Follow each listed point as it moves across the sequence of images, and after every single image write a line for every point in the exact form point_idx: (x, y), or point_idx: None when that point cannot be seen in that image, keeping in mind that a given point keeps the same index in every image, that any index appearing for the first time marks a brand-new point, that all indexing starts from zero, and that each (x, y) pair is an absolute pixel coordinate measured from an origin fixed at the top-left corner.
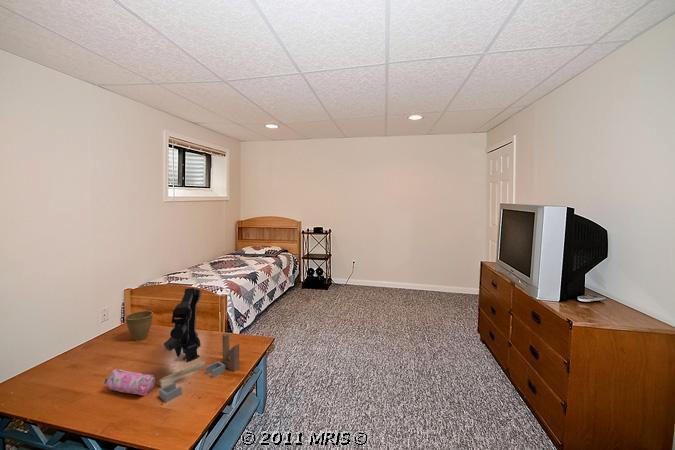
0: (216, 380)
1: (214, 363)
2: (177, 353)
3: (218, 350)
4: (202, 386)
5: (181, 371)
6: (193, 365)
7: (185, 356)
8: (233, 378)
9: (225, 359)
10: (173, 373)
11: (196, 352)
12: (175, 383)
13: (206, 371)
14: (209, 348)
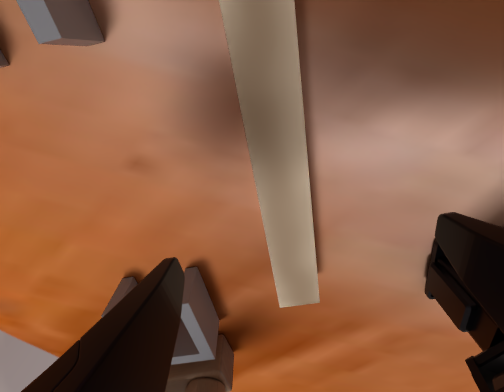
0: (81, 281)
1: (199, 342)
2: (491, 254)
3: (391, 362)
4: (47, 211)
5: (277, 159)
6: (299, 251)
7: (98, 351)
8: (60, 333)
9: (185, 390)
10: (298, 88)
11: (450, 316)
12: (42, 40)
13: (189, 278)
14: (459, 345)
